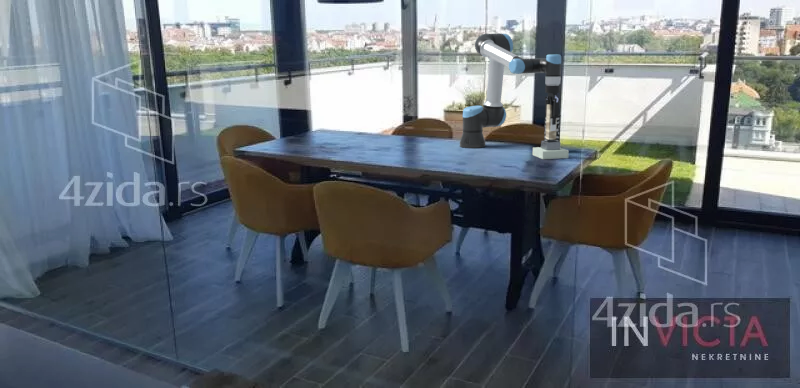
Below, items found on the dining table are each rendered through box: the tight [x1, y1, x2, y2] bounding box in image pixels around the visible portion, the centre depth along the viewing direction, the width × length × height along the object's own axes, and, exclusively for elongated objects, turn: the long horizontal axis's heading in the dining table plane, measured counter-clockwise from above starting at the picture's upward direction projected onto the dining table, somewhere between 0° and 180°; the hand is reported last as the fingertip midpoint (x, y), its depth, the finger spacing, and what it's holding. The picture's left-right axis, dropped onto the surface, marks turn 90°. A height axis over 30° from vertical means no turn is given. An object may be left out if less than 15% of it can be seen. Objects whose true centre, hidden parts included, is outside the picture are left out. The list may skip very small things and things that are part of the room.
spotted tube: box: [543, 114, 562, 143], centre depth 343 cm, size 8×8×20 cm
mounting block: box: [532, 146, 570, 160], centre depth 328 cm, size 14×14×4 cm
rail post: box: [546, 104, 557, 140], centre depth 324 cm, size 4×4×18 cm
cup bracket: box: [540, 140, 561, 150], centre depth 327 cm, size 8×8×4 cm
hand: (551, 130), depth 325 cm, fingers closed on rail post, 4 cm apart
